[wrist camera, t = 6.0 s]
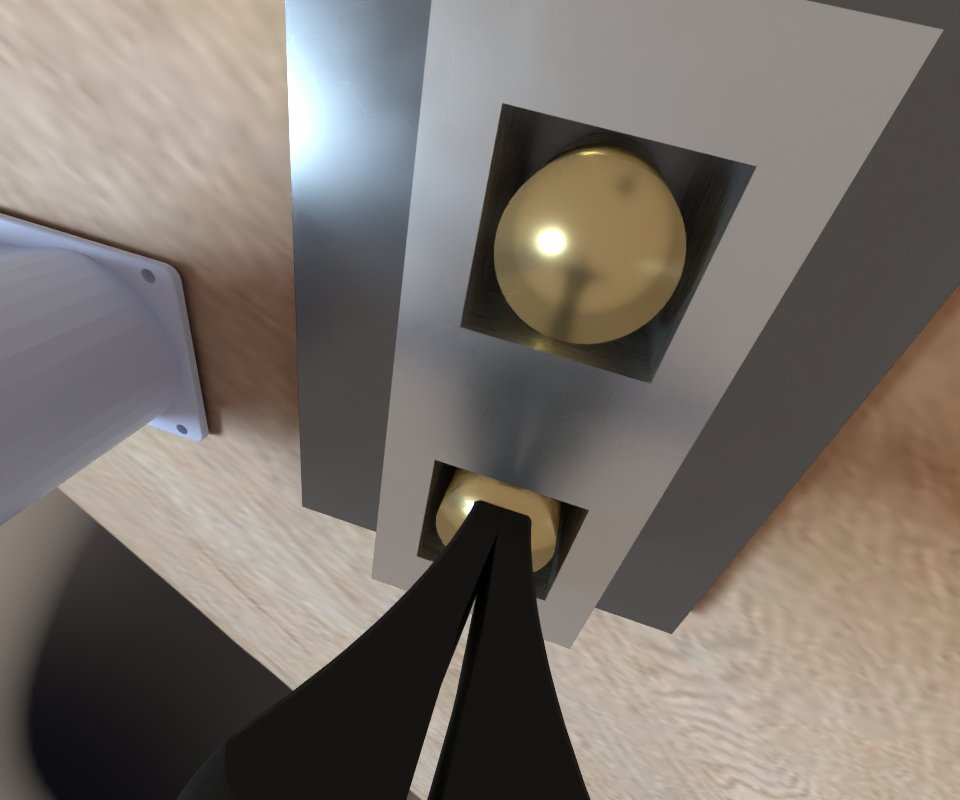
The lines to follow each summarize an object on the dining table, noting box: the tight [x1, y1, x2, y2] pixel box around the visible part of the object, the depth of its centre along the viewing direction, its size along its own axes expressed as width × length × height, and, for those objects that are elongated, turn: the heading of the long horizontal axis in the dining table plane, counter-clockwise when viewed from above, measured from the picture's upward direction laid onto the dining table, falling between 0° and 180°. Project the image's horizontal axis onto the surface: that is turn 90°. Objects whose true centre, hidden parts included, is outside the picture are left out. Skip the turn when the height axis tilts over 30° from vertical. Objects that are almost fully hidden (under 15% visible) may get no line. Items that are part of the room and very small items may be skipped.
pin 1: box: [436, 467, 562, 572], centre depth 13 cm, size 3×3×4 cm
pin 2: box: [494, 133, 686, 344], centre depth 9 cm, size 3×3×4 cm
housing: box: [372, 0, 943, 649], centre depth 11 cm, size 6×14×4 cm, turn 169°
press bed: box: [285, 0, 960, 634], centre depth 14 cm, size 16×22×1 cm
